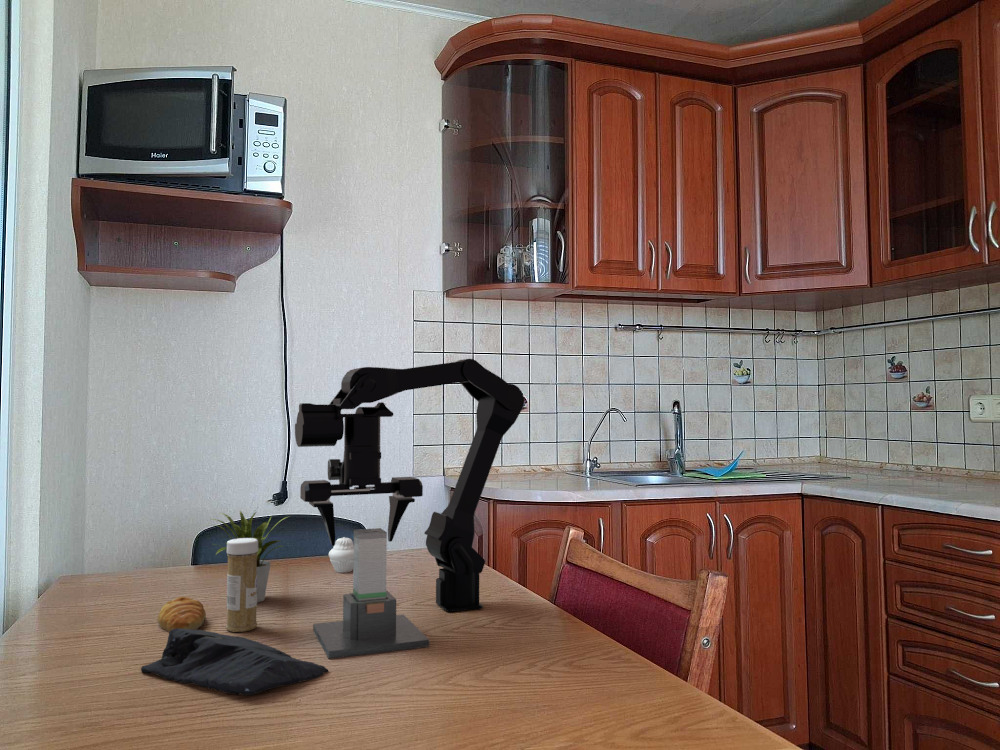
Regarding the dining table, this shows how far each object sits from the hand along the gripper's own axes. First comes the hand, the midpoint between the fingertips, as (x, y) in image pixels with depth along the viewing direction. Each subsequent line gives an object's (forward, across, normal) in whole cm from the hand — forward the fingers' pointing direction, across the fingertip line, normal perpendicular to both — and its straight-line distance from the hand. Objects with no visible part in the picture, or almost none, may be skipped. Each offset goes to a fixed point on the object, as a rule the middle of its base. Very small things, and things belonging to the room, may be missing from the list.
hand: (361, 543), depth 122 cm
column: (+6, +1, +11) cm, 12 cm away
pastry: (+12, +26, -7) cm, 30 cm away
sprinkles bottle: (+12, +18, -2) cm, 22 cm away
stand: (+12, +1, +11) cm, 16 cm away
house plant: (+12, +17, -20) cm, 29 cm away
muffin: (+12, -4, -36) cm, 39 cm away
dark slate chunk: (+13, +20, +18) cm, 29 cm away
